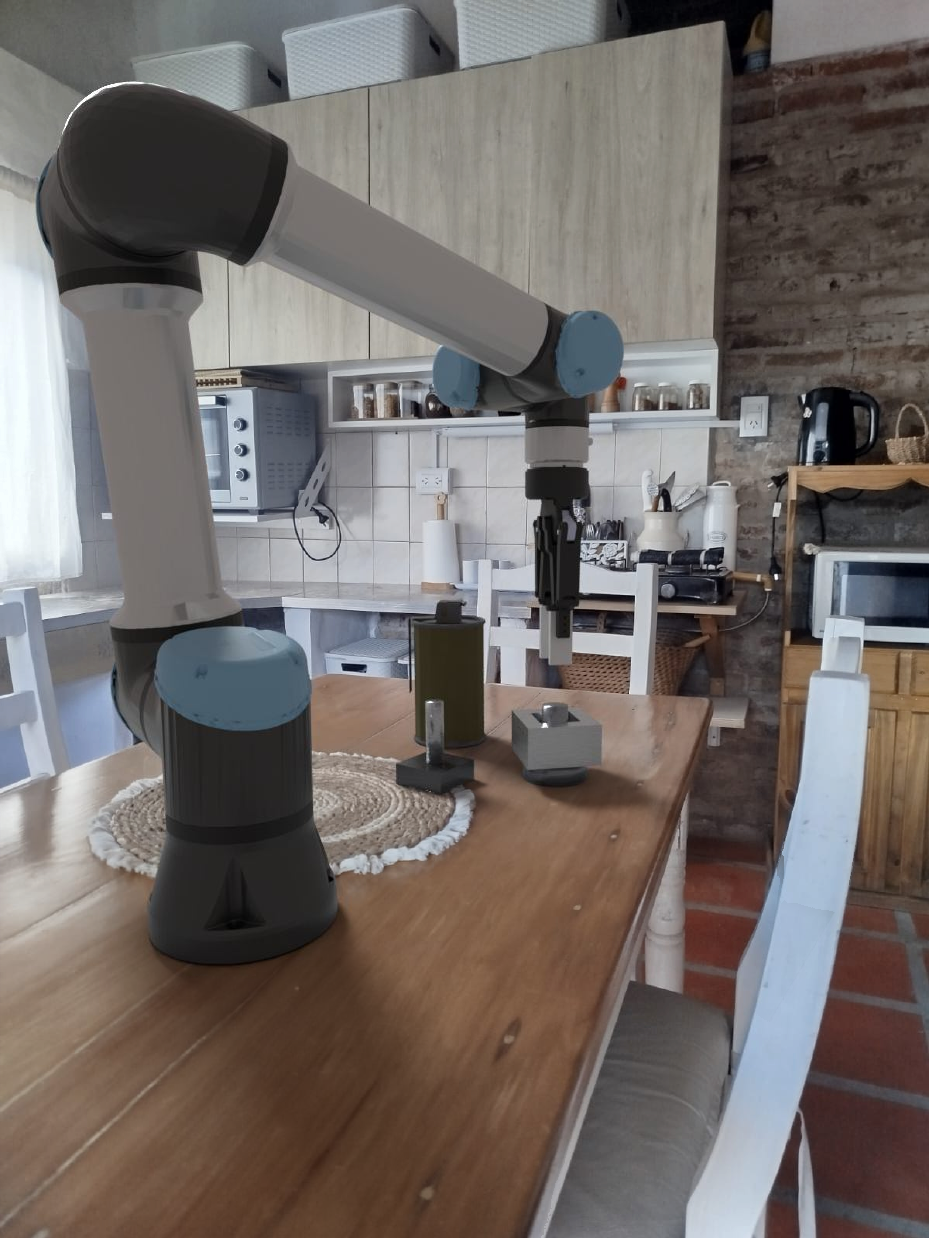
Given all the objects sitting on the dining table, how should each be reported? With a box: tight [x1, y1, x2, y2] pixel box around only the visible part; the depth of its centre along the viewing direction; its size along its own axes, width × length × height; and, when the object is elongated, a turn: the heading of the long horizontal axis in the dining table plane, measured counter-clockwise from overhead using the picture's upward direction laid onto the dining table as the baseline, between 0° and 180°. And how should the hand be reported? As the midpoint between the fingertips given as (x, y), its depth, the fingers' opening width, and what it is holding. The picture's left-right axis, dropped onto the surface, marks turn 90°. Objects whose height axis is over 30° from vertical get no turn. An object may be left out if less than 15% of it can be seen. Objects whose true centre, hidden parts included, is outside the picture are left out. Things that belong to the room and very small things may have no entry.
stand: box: [395, 699, 475, 795], centre depth 103 cm, size 7×7×10 cm
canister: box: [407, 599, 487, 749], centre depth 121 cm, size 11×10×20 cm
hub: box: [521, 701, 588, 788], centre depth 104 cm, size 8×8×9 cm
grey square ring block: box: [511, 706, 603, 770], centre depth 104 cm, size 9×9×5 cm
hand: (555, 660), depth 103 cm, fingers open, 4 cm apart
